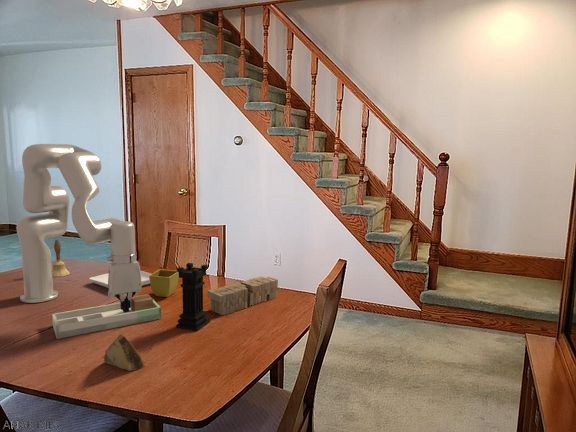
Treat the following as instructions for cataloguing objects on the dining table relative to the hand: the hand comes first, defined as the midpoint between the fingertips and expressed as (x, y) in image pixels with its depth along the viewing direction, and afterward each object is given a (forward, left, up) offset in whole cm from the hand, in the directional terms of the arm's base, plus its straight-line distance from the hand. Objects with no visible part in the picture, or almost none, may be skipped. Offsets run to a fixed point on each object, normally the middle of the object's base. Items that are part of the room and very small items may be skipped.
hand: (125, 310), depth 150 cm
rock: (+32, -8, -3) cm, 33 cm away
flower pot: (-17, +19, -3) cm, 26 cm away
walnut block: (0, +5, -1) cm, 5 cm away
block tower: (+7, +42, -3) cm, 42 cm away
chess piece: (+16, +18, -3) cm, 24 cm away
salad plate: (-39, +9, -4) cm, 40 cm away
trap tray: (0, -6, -3) cm, 6 cm away
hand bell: (-66, -13, -3) cm, 67 cm away
